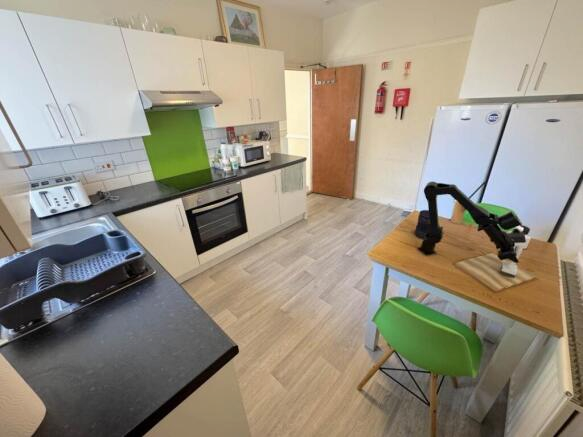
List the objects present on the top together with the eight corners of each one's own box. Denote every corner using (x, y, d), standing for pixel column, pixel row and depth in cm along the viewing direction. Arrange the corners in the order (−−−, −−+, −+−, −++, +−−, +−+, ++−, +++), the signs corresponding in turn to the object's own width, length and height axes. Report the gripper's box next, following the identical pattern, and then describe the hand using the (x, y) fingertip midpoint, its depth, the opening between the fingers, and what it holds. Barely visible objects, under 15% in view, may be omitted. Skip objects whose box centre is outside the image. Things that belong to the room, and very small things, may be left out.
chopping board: (494, 292, 104) (495, 289, 104) (454, 264, 121) (455, 262, 121) (535, 278, 111) (536, 276, 110) (491, 254, 128) (492, 252, 127)
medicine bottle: (516, 241, 137) (525, 223, 132) (526, 249, 131) (535, 230, 125) (503, 241, 138) (511, 223, 132) (512, 248, 132) (521, 229, 126)
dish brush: (514, 278, 109) (527, 252, 103) (500, 273, 112) (512, 247, 106) (514, 270, 114) (526, 245, 109) (501, 266, 117) (512, 241, 112)
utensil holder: (470, 226, 155) (486, 182, 141) (450, 224, 157) (464, 181, 143) (462, 218, 164) (477, 176, 150) (444, 217, 166) (457, 176, 152)
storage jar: (410, 233, 149) (416, 207, 141) (421, 229, 152) (428, 204, 144) (424, 241, 141) (431, 214, 133) (435, 237, 144) (443, 210, 136)
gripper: (518, 235, 98) (543, 266, 97) (514, 218, 111) (536, 244, 111) (488, 245, 106) (511, 274, 105) (487, 228, 119) (507, 253, 118)
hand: (517, 260), depth 109 cm, fingers closed on dish brush, 3 cm apart
